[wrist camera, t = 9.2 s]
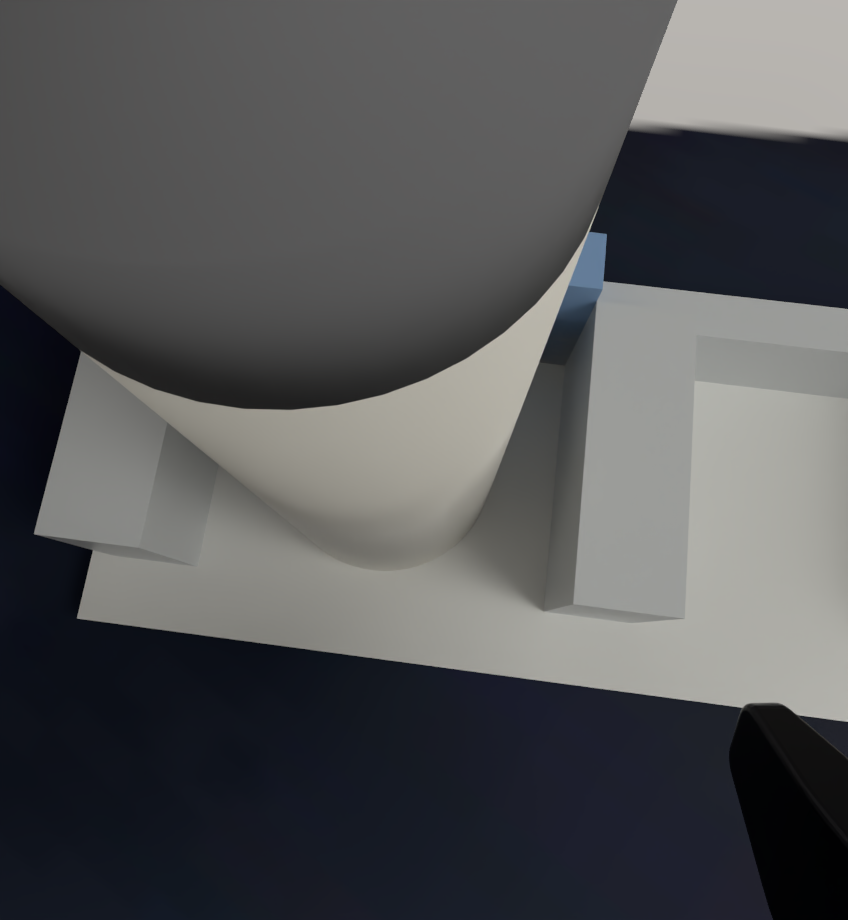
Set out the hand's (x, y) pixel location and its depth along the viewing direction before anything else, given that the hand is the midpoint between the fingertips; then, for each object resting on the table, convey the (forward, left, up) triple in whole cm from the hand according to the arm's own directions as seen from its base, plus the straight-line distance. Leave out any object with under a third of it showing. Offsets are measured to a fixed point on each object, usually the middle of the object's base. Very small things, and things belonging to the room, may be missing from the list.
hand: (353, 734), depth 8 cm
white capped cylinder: (+3, +4, -8) cm, 9 cm away
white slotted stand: (+7, +1, -9) cm, 11 cm away
